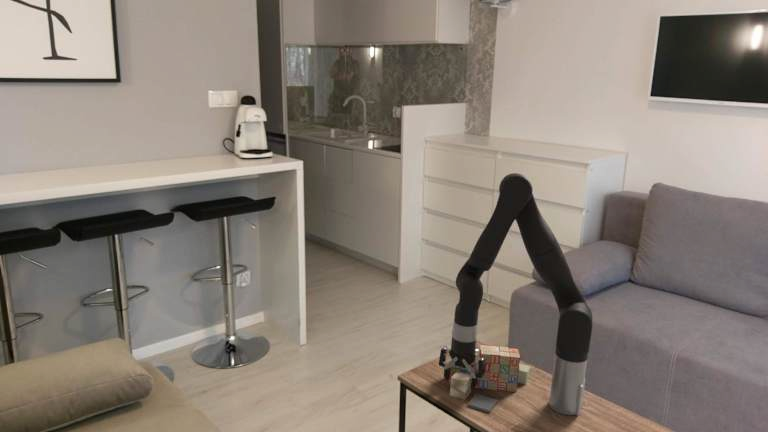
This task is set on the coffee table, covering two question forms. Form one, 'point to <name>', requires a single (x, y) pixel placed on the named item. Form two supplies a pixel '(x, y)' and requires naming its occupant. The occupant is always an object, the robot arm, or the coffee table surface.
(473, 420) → the coffee table surface
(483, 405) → the charcoal pad
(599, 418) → the coffee table surface
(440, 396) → the coffee table surface
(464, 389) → the cream block
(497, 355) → the stack of blocks
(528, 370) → the sage green block
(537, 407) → the coffee table surface
